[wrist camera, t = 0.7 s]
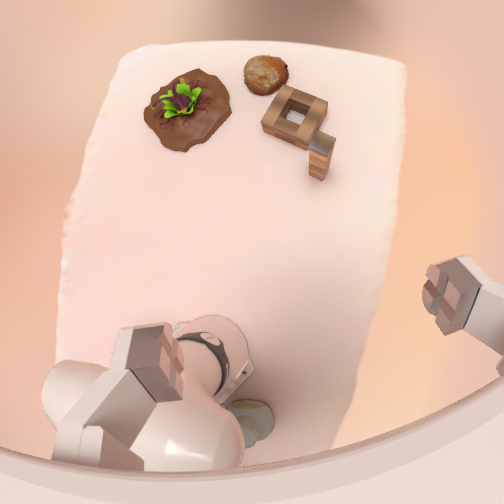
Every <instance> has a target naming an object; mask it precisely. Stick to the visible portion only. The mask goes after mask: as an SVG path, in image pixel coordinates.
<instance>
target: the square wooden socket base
mask: <svg viewBox="0 0 504 504" xmlns="http://www.w3.org/2000/svg"><path fill="white" fill-rule="evenodd" d="M327 107H328V102H327V101H325V100H322V99H320V98H317V97H315V96H313V95H310V94H308V93H305V92H303V91H300V90H297V89H295V88H292V87H289V86H287V85H284V84H283V85H282V86H281V88H280V90H279V91H278V93H277V95H276V96H275V98H274V100H273V101H272V103H271V105H270V107H269V108H268V110H267V112H266V113H265V115H264V117H263V118H262V120H261V124H262V127H263V130H264V132H266V133H269V134H271V135H273V136H276V137H278V138H280V139H283V140H285V141H287V142H289V143H292V144H294V145H296V146H298V147H301V148H303V149H305V150H308V148H309V146H310V144H311V142H312V140H313V138H314V136H315V134H316V132H317V130H318V129H319V127H320V125H321V123H322V121H323V119H324V117H325V116H326V114H327ZM290 109H292V110H295V111H297V112H299V113H302V114H304V115H306V117H305V118H304V120H303V122H302V124H301V125H299V124H296V123H294V122H292V121H289V120H287V119H285V117H286V116H287V114H288V112H289V110H290Z"/></svg>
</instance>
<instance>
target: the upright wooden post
mask: <svg viewBox="0 0 504 504" xmlns="http://www.w3.org/2000/svg"><path fill="white" fill-rule="evenodd" d="M335 141H336V138H334V137H332V136H330V135H327V134H325V133H323V132H321V131H319V130H317V132H316V134H315V136H314V138H313V140H312V142H311V144H310V146H309V149H310V150H309V175H311V176H313V177H315V178H317V179H319V180H321V181H323V179H324V177H325V175H326V173H327V171H328V169H329V165H330V161H331V156H332V152H333V148H334V144H335Z"/></svg>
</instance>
